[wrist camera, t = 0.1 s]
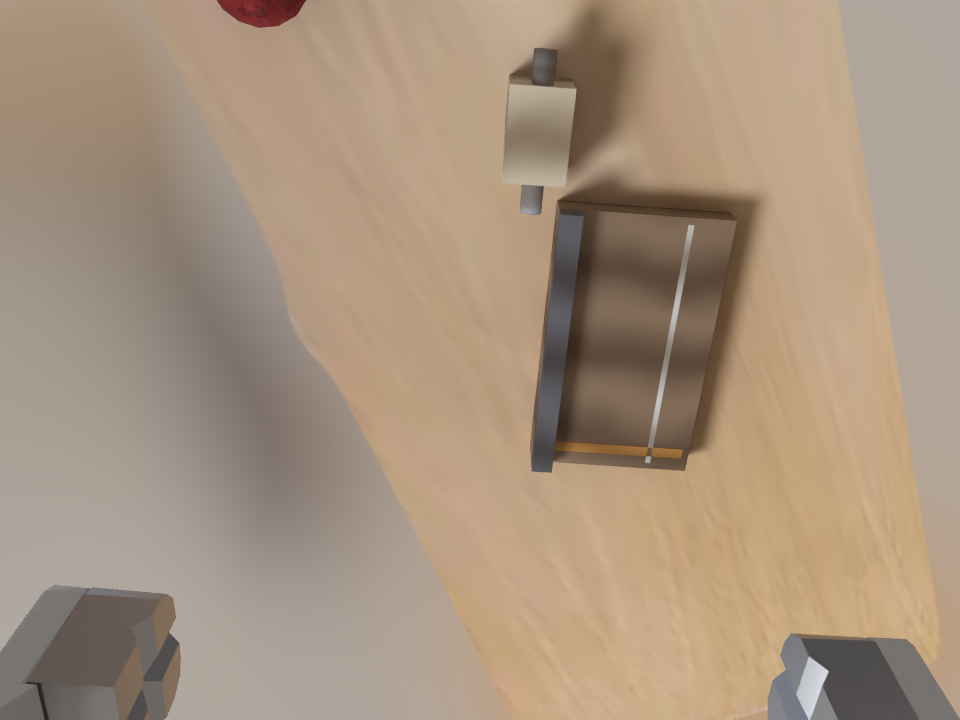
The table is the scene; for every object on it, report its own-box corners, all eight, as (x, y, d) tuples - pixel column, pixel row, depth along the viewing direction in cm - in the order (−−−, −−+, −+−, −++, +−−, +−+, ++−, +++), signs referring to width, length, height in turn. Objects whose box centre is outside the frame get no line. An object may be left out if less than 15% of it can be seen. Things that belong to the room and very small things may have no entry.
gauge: (511, 42, 53) (513, 48, 48) (574, 46, 53) (580, 53, 49) (499, 195, 57) (499, 213, 53) (557, 199, 57) (561, 218, 53)
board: (557, 200, 57) (560, 214, 54) (729, 212, 57) (743, 227, 54) (530, 446, 66) (531, 471, 62) (679, 456, 66) (688, 481, 63)
